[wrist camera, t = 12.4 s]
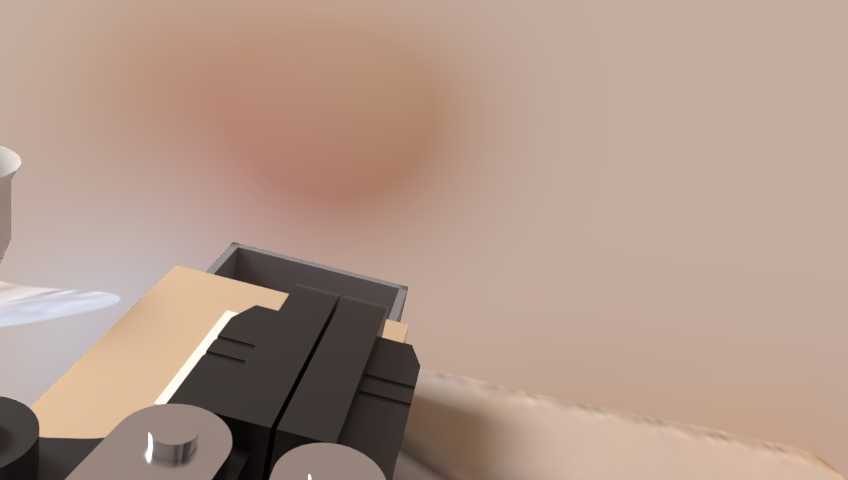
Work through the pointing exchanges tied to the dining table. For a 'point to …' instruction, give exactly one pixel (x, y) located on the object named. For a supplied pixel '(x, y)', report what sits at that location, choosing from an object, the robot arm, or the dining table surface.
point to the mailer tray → (305, 277)
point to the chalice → (6, 195)
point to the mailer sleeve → (152, 352)
